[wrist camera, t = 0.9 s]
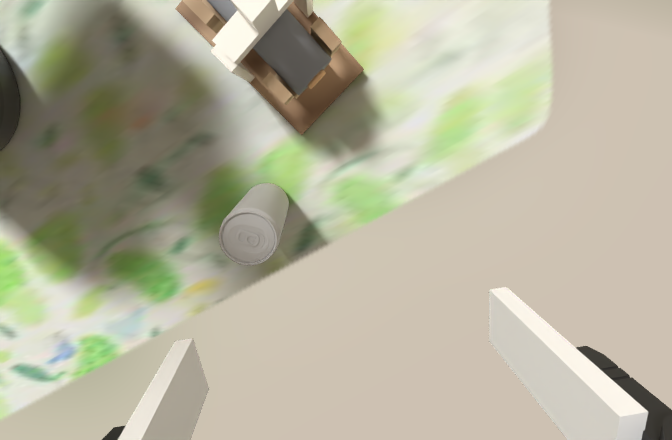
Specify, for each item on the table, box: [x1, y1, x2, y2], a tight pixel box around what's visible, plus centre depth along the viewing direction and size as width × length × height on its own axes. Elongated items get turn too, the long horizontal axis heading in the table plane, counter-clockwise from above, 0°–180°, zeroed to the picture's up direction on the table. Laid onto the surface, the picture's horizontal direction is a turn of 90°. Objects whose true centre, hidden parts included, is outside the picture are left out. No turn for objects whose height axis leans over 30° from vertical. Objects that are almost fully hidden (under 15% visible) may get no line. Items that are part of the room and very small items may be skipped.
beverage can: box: [219, 183, 289, 265], centre depth 33 cm, size 5×5×12 cm
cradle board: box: [176, 0, 364, 135], centre depth 30 cm, size 16×9×8 cm, turn 45°
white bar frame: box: [211, 0, 313, 82], centre depth 27 cm, size 2×9×12 cm, turn 135°
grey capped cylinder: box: [207, 0, 332, 95], centre depth 27 cm, size 12×4×4 cm, turn 45°
